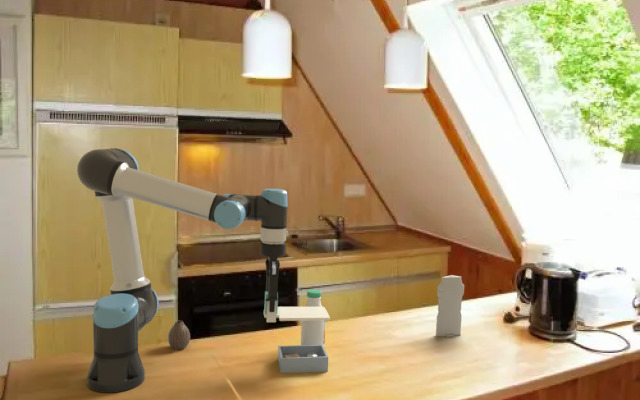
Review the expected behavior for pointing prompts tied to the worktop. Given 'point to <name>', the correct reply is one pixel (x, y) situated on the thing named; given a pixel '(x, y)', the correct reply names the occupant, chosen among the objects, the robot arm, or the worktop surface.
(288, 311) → the lid
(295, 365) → the tub
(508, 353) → the worktop surface
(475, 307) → the worktop surface
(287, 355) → the walnut part
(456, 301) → the tall pale column
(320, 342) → the milk bottle
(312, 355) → the metal part
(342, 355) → the worktop surface
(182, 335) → the vase
